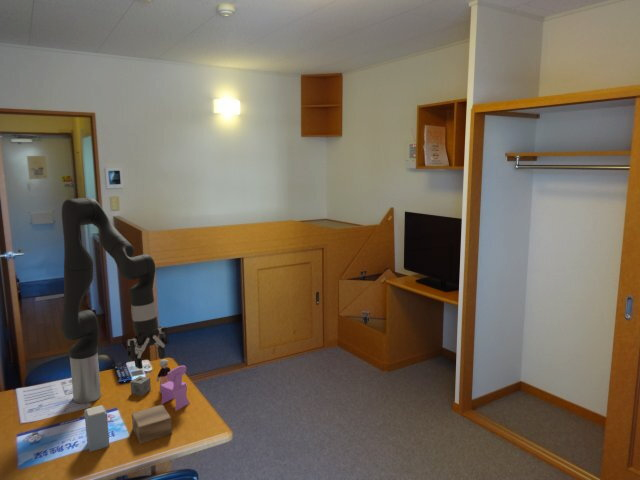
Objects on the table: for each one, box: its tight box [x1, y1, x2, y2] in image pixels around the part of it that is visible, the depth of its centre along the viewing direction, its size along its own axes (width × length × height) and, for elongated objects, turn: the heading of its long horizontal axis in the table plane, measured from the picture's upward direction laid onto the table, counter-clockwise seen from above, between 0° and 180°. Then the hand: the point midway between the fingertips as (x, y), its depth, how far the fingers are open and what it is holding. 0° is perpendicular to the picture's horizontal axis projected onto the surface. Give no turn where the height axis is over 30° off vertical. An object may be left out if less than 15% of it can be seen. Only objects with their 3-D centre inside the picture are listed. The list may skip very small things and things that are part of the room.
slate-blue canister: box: [83, 404, 110, 453], centre depth 149 cm, size 6×6×12 cm
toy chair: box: [159, 365, 190, 411], centre depth 174 cm, size 8×9×15 cm
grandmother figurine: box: [156, 358, 172, 395], centre depth 184 cm, size 8×4×13 cm, turn 168°
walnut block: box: [131, 404, 173, 445], centre depth 157 cm, size 10×10×6 cm
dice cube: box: [130, 375, 152, 397], centre depth 184 cm, size 5×5×5 cm
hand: (150, 363), depth 159 cm, fingers open, 8 cm apart
